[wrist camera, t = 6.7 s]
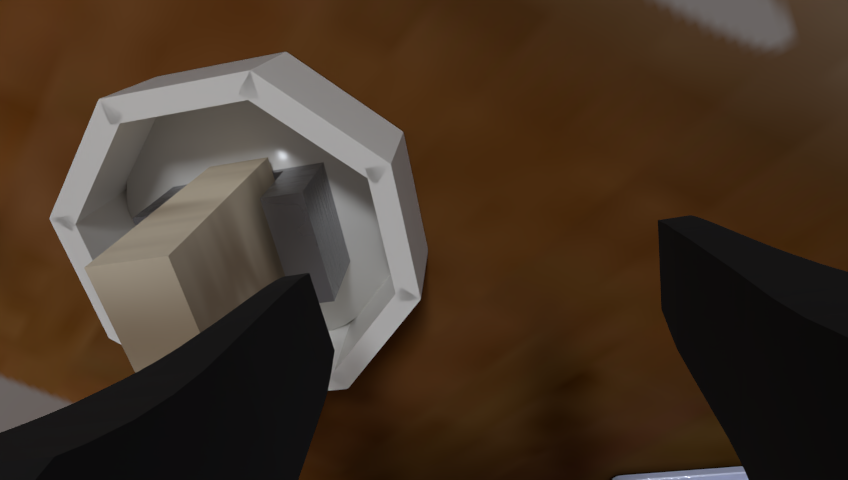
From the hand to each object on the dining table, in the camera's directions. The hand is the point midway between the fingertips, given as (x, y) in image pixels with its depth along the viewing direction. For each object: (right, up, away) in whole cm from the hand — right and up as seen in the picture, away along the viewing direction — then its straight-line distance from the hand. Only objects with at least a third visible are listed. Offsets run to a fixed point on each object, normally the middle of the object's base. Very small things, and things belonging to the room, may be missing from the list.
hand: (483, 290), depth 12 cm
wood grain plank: (-7, +2, +10) cm, 12 cm away
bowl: (-7, +2, +11) cm, 13 cm away
